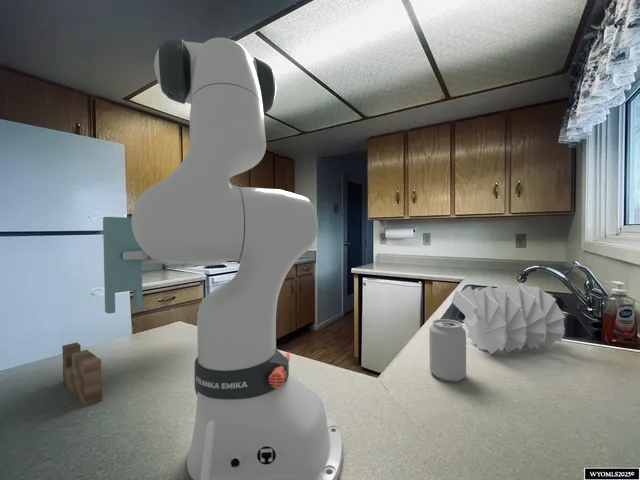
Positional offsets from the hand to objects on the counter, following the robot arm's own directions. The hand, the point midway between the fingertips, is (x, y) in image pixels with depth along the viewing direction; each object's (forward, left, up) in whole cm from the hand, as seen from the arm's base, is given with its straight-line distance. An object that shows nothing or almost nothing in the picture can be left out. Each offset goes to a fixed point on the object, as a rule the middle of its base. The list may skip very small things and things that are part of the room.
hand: (118, 255), depth 67 cm
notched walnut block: (+2, +9, -28) cm, 29 cm away
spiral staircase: (-98, -23, -28) cm, 104 cm away
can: (-76, -5, -28) cm, 81 cm away
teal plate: (-1, -1, -13) cm, 13 cm away
